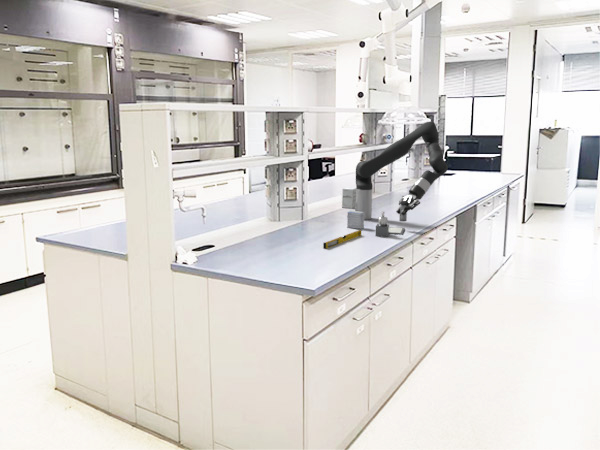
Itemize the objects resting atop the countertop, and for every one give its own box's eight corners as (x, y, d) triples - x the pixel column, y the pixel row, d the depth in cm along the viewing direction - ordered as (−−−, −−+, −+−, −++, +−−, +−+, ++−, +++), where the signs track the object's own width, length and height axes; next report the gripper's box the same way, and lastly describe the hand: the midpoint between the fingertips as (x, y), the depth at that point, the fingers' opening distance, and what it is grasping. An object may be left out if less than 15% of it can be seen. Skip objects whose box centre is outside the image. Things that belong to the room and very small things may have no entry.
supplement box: (341, 207, 343) (342, 188, 340) (346, 206, 349) (346, 187, 347) (352, 208, 339) (352, 189, 337) (356, 207, 346) (357, 187, 343)
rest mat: (380, 233, 269) (380, 232, 268) (383, 227, 282) (383, 226, 282) (402, 234, 266) (402, 233, 265) (404, 229, 279) (404, 227, 279)
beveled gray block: (375, 236, 262) (376, 212, 260) (377, 233, 268) (377, 210, 266) (387, 236, 261) (388, 213, 258) (388, 234, 266) (389, 210, 264)
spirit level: (358, 235, 265) (359, 229, 264) (361, 236, 264) (361, 230, 263) (323, 249, 238) (323, 242, 237) (325, 249, 237) (325, 243, 236)
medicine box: (363, 227, 282) (364, 211, 280) (360, 229, 278) (361, 213, 276) (350, 226, 286) (350, 210, 284) (346, 227, 282) (347, 211, 280)
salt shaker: (396, 220, 276) (397, 200, 273) (403, 219, 278) (403, 199, 275) (402, 221, 272) (402, 202, 269) (409, 220, 274) (409, 201, 272)
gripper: (432, 195, 271) (412, 220, 268) (415, 191, 283) (396, 215, 281) (424, 185, 267) (403, 211, 265) (407, 182, 280) (387, 206, 278)
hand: (399, 213), depth 273 cm, fingers closed on salt shaker, 3 cm apart
